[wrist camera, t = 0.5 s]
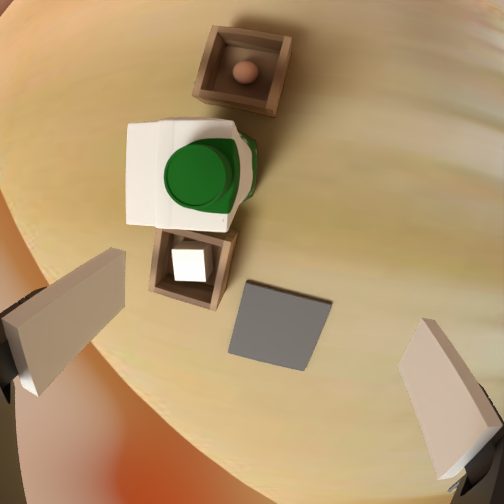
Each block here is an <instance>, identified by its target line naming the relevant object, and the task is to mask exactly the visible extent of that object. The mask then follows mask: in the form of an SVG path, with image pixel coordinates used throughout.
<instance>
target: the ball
mask: <svg viewBox="0 0 504 504" xmlns="http://www.w3.org/2000/svg"><path fill="white" fill-rule="evenodd" d="M233 76H234V78H235V80H236V81H237V82H239V83H241V84H250V83H252V82H254V81H255V80H256V79H257V77H258V68H257V66H256V65H255V64H254V63H253V62H251V61H241V62H239V63H237V64H236V65H235V67H234V69H233Z"/></svg>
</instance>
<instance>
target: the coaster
mask: <svg viewBox="0 0 504 504" xmlns="http://www.w3.org/2000/svg"><path fill="white" fill-rule="evenodd" d="M330 308H331V303H328V302H324V301H320V300H316V299H312V298H308V297H304V296H300V295H296V294H292V293H289V292H285V291H281V290H277V289H273V288H269V287H266V286H262V285H258V284H254V283H251V282H247V281H246V283H245V287H244V291H243V295H242V299H241V303H240V307H239V311H238V315H237V319H236V323H235V326H234V330H233V334H232V338H231V342H230V346H229V350H228V353H230V354H234V355H238V356H242V357H245V358H249V359H253V360H257V361H261V362H265V363H269V364H273V365H278V366H282V367H286V368H291V369H296V370H300V371H304V370H305V368H306V366H307V363H308V361H309V359H310V357H311V354H312V352H313V350H314V347H315V345H316V343H317V340H318V338H319V335H320V333H321V331H322V328H323V326H324V323H325V321H326V318H327V316H328V313H329V311H330Z"/></svg>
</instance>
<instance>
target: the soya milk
mask: <svg viewBox="0 0 504 504" xmlns="http://www.w3.org/2000/svg"><path fill="white" fill-rule="evenodd" d="M257 159H258V158H257V147H256V141H255V140H253V139H251V138H250V137H248V136H246V135H244V134H242V133H241V132H239V131H237V128H236V125H235V123H234V121H232V120H224V119H218V118H211V117H169V118H165V119H161V120H159V121H151V122H138V123H129V124H128V132H127V152H126V224H132V225H146V226H156V228H162V229H182V230H196V231H211V232H227V231H228V230H229V227H230V225H231V223H232V220H233V218H234V215H235V213H236V211H237V209H238V206H239V204H241V203H243V202H244V201H246V200H247V199H249V198H251V197H252V196H253V192H254V189H255V185H256V175H257Z"/></svg>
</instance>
